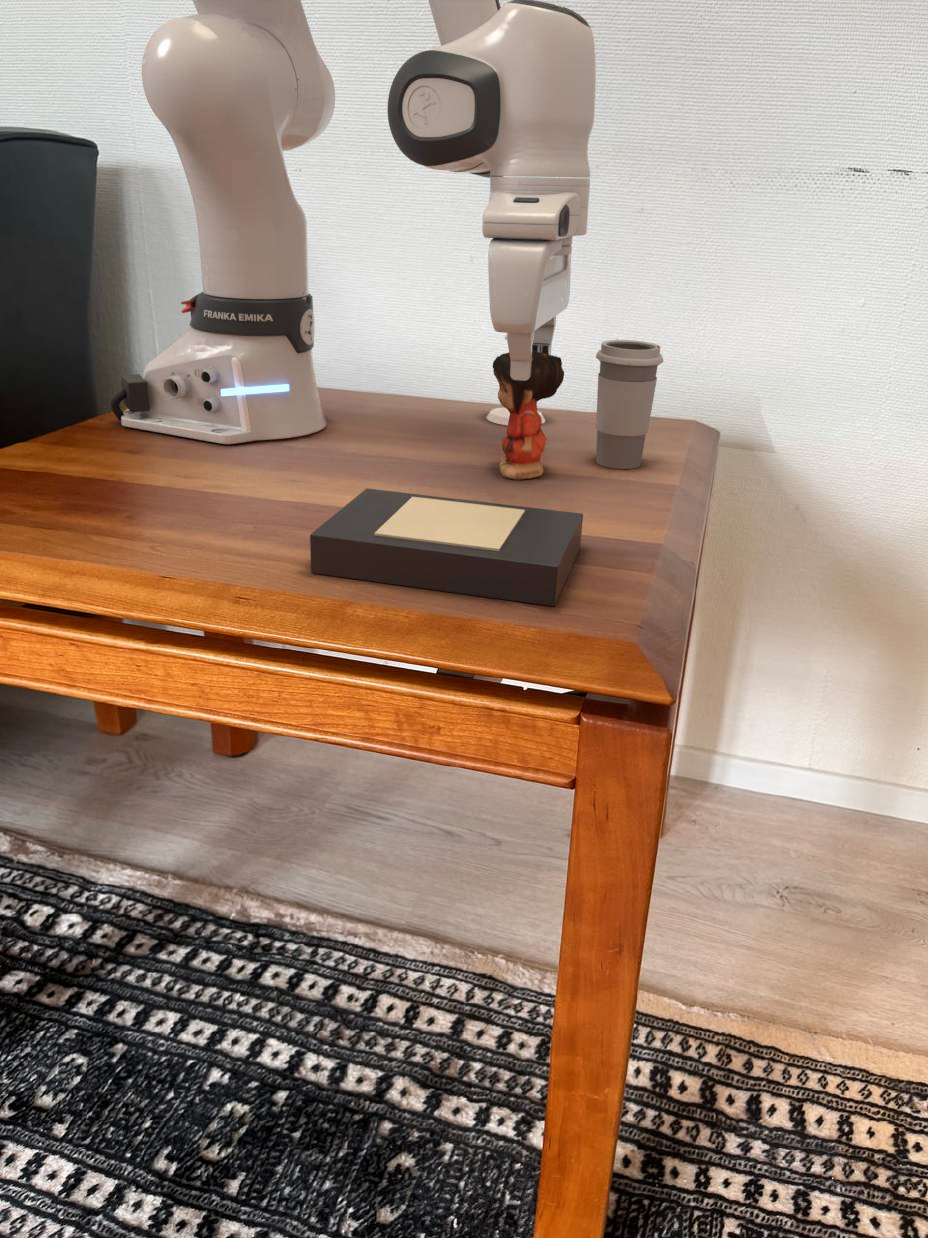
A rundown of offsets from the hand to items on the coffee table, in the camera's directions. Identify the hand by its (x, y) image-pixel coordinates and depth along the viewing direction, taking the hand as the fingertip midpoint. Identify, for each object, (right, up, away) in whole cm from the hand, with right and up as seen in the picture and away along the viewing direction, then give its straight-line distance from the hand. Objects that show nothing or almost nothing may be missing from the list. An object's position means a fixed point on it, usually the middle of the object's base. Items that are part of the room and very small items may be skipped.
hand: (531, 370), depth 94 cm
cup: (+10, -8, +9) cm, 15 cm away
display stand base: (-7, -19, -19) cm, 28 cm away
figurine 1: (0, 0, +25) cm, 25 cm away
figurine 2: (-1, -9, +4) cm, 10 cm away
